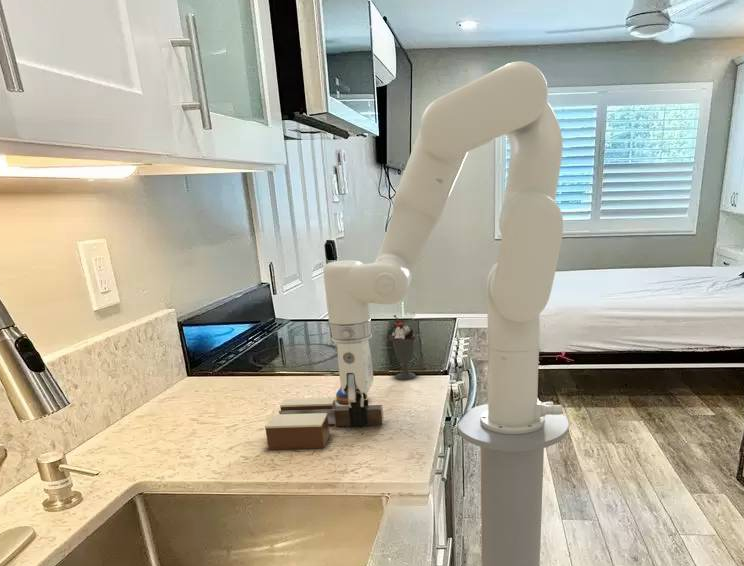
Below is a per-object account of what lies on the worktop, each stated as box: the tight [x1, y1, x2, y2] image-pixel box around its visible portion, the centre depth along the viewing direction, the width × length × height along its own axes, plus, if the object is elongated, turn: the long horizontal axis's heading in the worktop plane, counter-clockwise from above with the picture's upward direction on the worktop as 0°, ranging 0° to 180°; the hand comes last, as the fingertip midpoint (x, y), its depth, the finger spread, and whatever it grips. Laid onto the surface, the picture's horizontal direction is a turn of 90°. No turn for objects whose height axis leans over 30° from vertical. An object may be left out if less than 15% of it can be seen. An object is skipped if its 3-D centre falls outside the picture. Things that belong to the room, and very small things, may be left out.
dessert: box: [335, 386, 367, 406], centre depth 123 cm, size 8×7×6 cm
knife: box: [278, 404, 384, 427], centre depth 111 cm, size 20×2×3 cm, turn 90°
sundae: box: [388, 314, 418, 381], centre depth 136 cm, size 7×7×15 cm
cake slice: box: [279, 396, 336, 427], centre depth 113 cm, size 10×4×5 cm, turn 90°
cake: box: [264, 413, 331, 450], centre depth 104 cm, size 10×6×5 cm, turn 90°
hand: (360, 421), depth 112 cm, fingers closed on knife, 2 cm apart
